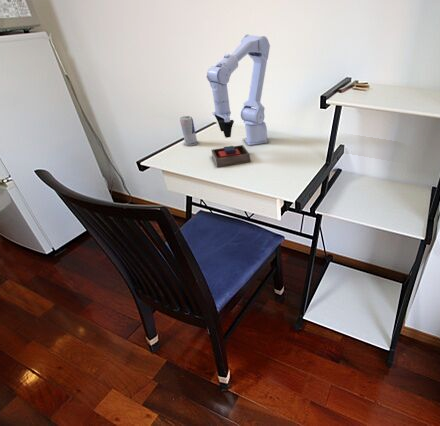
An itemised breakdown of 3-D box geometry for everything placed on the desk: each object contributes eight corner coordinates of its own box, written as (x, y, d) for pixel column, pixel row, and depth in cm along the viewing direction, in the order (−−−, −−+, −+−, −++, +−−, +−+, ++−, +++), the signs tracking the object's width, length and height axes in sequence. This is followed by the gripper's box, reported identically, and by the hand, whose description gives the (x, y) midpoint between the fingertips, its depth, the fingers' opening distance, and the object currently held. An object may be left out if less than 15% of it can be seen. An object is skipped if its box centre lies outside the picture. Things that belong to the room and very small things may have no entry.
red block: (236, 144, 128) (240, 149, 125) (237, 154, 131) (241, 159, 127) (217, 147, 125) (220, 152, 122) (219, 157, 128) (222, 162, 124)
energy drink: (199, 141, 143) (194, 116, 136) (194, 146, 138) (189, 120, 132) (188, 141, 143) (182, 115, 136) (183, 145, 139) (177, 119, 132)
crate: (243, 152, 134) (242, 145, 132) (250, 161, 127) (249, 154, 125) (212, 157, 129) (211, 149, 127) (217, 167, 122) (216, 159, 120)
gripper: (207, 96, 122) (212, 129, 130) (214, 106, 112) (219, 141, 120) (224, 95, 125) (228, 127, 133) (233, 104, 114) (237, 139, 122)
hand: (225, 134), depth 126 cm, fingers open, 7 cm apart
